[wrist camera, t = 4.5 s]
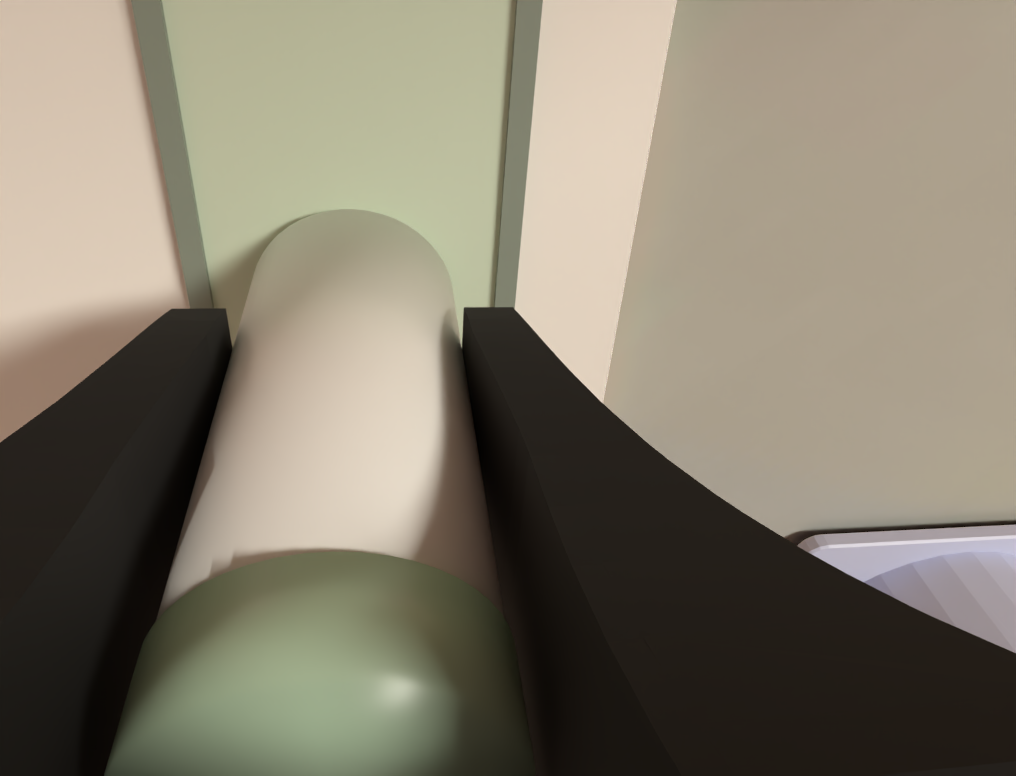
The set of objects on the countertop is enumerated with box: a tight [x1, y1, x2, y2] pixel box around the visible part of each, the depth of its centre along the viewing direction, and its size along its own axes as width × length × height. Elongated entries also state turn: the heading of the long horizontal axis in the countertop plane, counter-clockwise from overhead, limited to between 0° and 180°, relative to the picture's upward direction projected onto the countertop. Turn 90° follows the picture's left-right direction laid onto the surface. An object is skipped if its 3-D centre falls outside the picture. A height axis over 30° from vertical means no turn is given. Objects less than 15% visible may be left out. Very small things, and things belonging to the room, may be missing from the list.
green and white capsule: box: [104, 209, 536, 776], centre depth 8 cm, size 3×3×7 cm
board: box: [0, 0, 677, 442], centre depth 10 cm, size 11×10×1 cm
